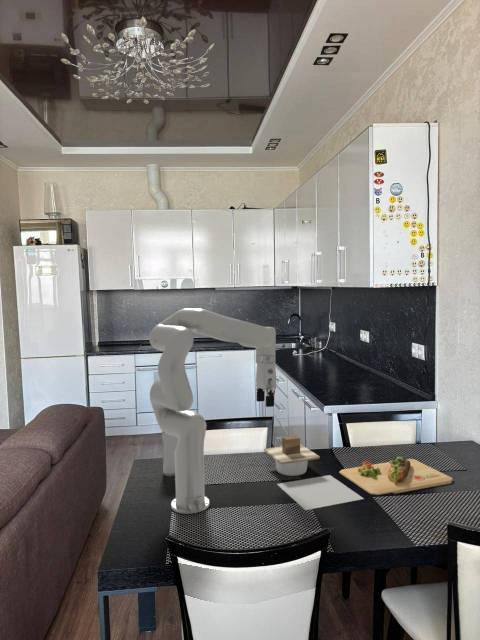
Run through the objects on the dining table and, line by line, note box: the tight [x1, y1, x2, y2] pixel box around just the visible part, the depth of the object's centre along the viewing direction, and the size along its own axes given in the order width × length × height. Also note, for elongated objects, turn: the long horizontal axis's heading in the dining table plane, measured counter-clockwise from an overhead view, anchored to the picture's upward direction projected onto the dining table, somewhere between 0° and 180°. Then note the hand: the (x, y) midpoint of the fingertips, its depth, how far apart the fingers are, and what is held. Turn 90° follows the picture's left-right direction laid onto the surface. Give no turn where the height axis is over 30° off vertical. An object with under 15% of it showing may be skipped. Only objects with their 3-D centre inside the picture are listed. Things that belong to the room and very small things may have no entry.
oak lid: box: [264, 434, 321, 464], centre depth 186 cm, size 16×16×7 cm
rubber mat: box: [276, 474, 365, 511], centre depth 166 cm, size 22×22×1 cm
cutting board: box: [338, 456, 453, 496], centre depth 179 cm, size 35×23×8 cm
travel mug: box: [161, 430, 179, 477], centre depth 186 cm, size 6×7×20 cm
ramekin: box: [274, 459, 309, 477], centre depth 186 cm, size 13×13×7 cm
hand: (265, 403), depth 183 cm, fingers open, 9 cm apart
